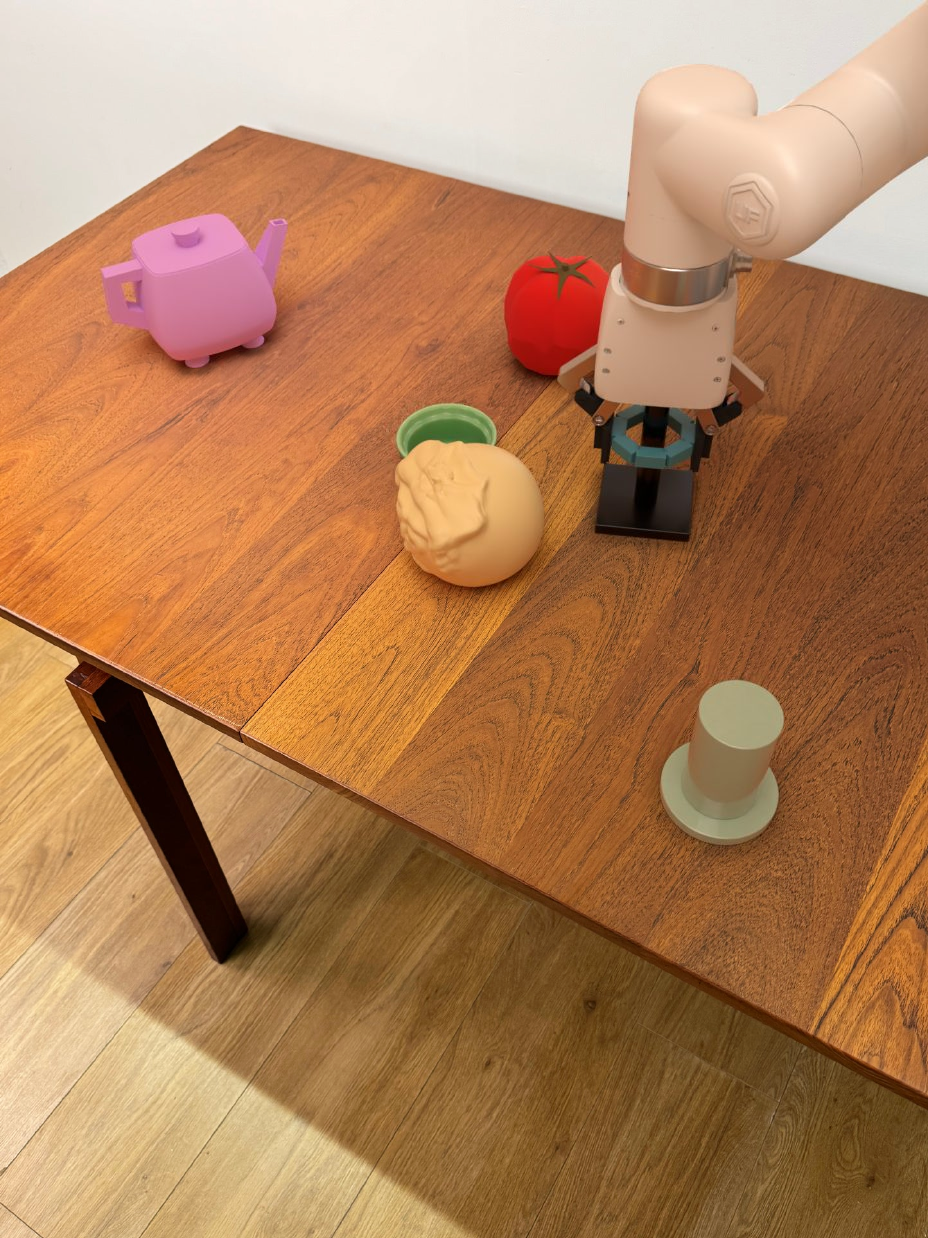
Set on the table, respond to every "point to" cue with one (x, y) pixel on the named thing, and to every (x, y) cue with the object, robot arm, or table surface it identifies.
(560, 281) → the tomato
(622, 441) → the ring
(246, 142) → the table surface
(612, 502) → the black peg stand
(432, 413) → the ramekin
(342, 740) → the table surface
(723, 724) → the ring stand
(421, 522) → the sculpture
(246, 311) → the teapot
